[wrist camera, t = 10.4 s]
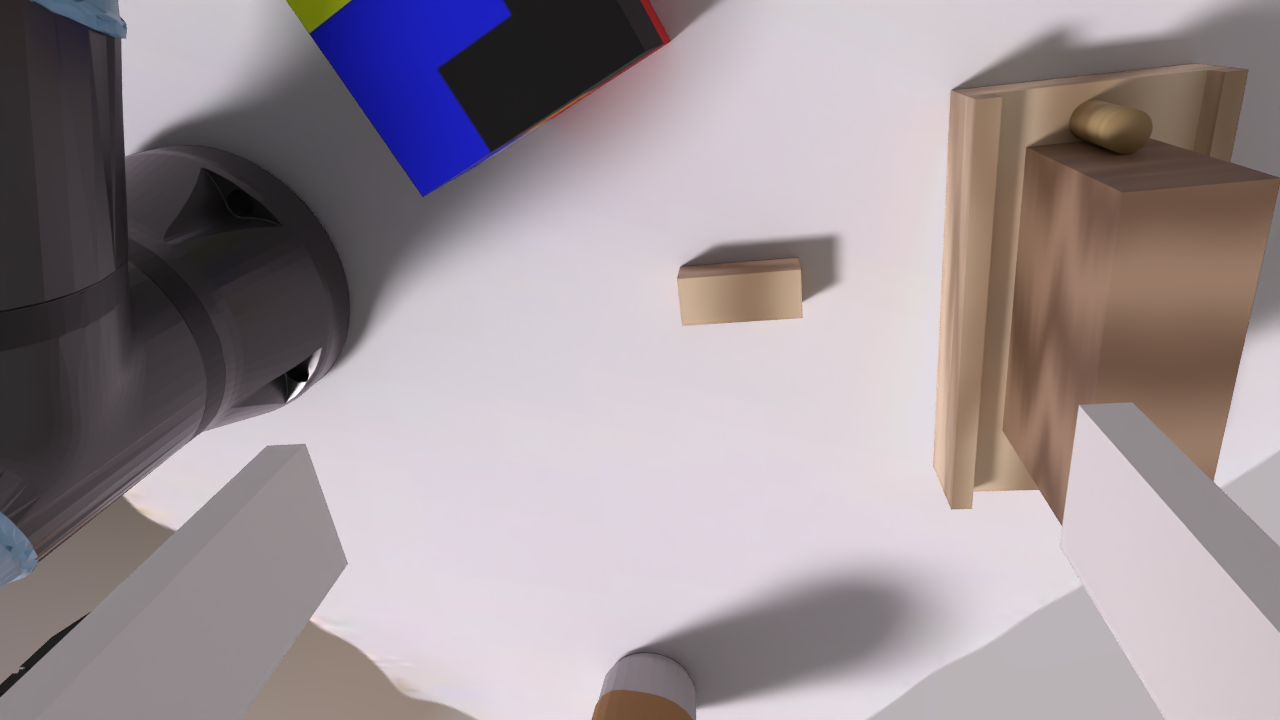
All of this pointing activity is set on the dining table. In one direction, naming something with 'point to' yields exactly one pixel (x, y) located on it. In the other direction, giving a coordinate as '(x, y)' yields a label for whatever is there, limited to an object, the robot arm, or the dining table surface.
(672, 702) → the coffee cup
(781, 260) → the block
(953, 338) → the ledge
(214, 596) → the robot arm
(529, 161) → the dining table surface
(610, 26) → the puzzle toy
